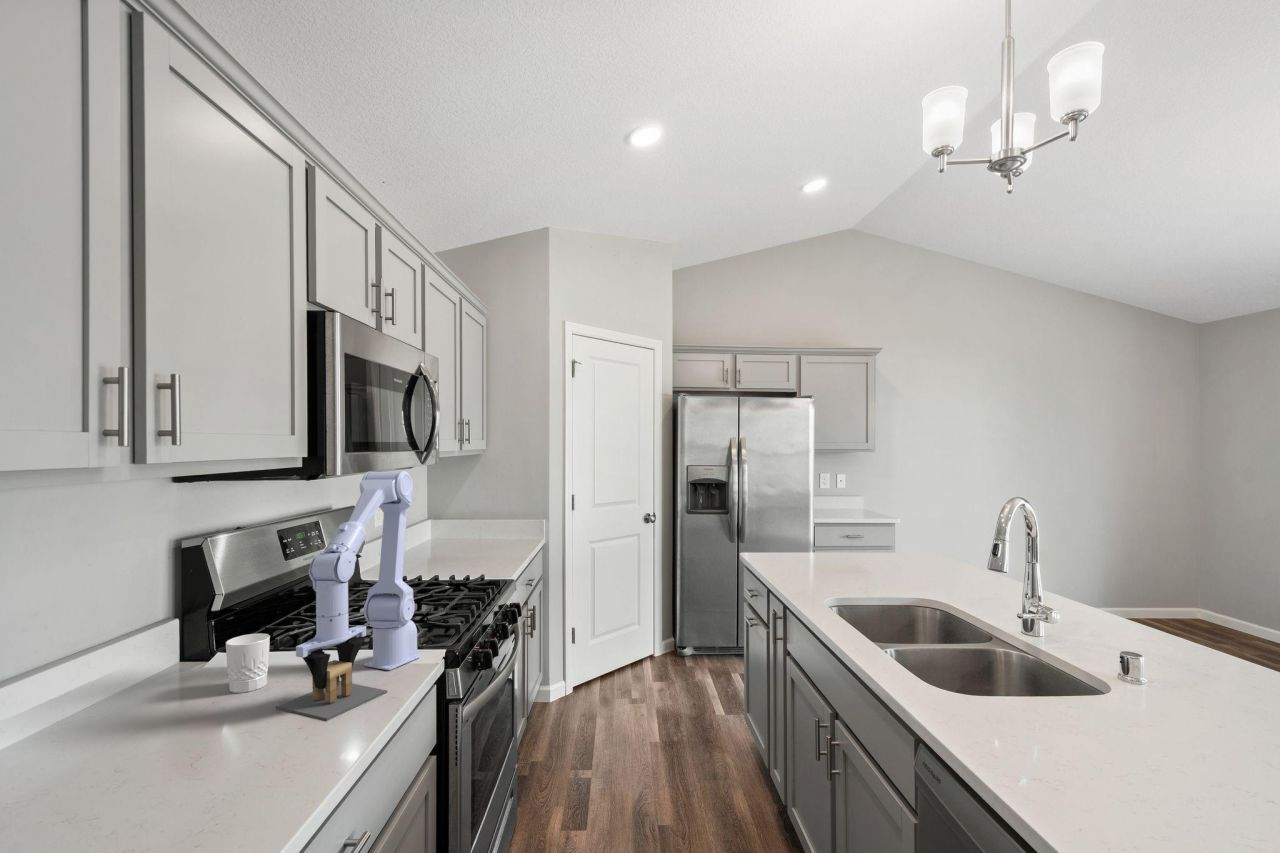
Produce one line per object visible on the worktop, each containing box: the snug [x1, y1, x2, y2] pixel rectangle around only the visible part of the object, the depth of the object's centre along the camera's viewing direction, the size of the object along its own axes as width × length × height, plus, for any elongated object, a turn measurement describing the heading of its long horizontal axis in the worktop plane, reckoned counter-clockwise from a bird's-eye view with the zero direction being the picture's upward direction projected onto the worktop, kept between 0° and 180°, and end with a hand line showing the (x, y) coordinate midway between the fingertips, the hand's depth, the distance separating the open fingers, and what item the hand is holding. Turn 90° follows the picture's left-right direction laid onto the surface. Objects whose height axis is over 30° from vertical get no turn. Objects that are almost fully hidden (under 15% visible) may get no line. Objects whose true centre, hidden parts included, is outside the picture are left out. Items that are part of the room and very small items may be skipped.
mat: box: [276, 680, 388, 721], centre depth 125 cm, size 14×14×1 cm
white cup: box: [225, 633, 271, 694], centre depth 133 cm, size 8×8×10 cm
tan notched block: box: [311, 659, 353, 703], centre depth 125 cm, size 5×5×6 cm
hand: (333, 682), depth 125 cm, fingers open, 5 cm apart
